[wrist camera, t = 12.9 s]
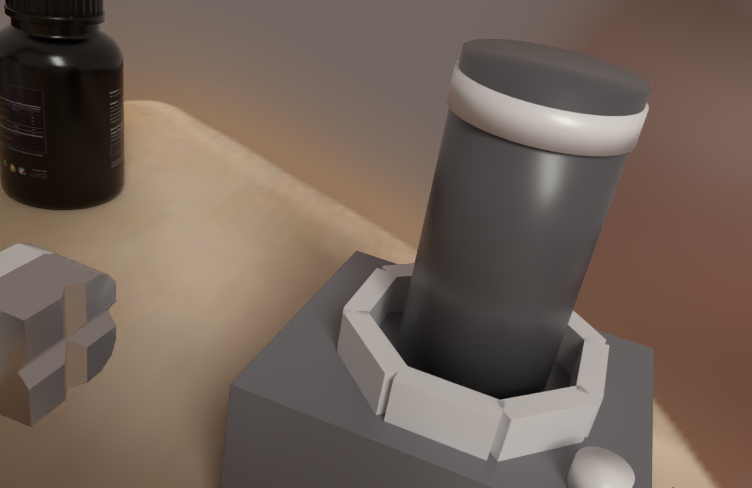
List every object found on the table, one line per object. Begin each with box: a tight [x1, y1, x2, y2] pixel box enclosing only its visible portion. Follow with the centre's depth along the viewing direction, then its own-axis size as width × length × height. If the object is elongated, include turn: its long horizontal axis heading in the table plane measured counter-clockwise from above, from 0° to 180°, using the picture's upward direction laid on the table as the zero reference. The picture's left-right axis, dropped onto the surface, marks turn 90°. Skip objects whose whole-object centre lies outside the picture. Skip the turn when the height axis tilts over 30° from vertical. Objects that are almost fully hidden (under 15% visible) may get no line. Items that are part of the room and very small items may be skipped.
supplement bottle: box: [0, 0, 124, 210], centre depth 40 cm, size 7×7×12 cm
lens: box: [396, 39, 652, 400], centre depth 21 cm, size 5×5×10 cm
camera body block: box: [220, 251, 654, 488], centre depth 25 cm, size 12×10×8 cm
